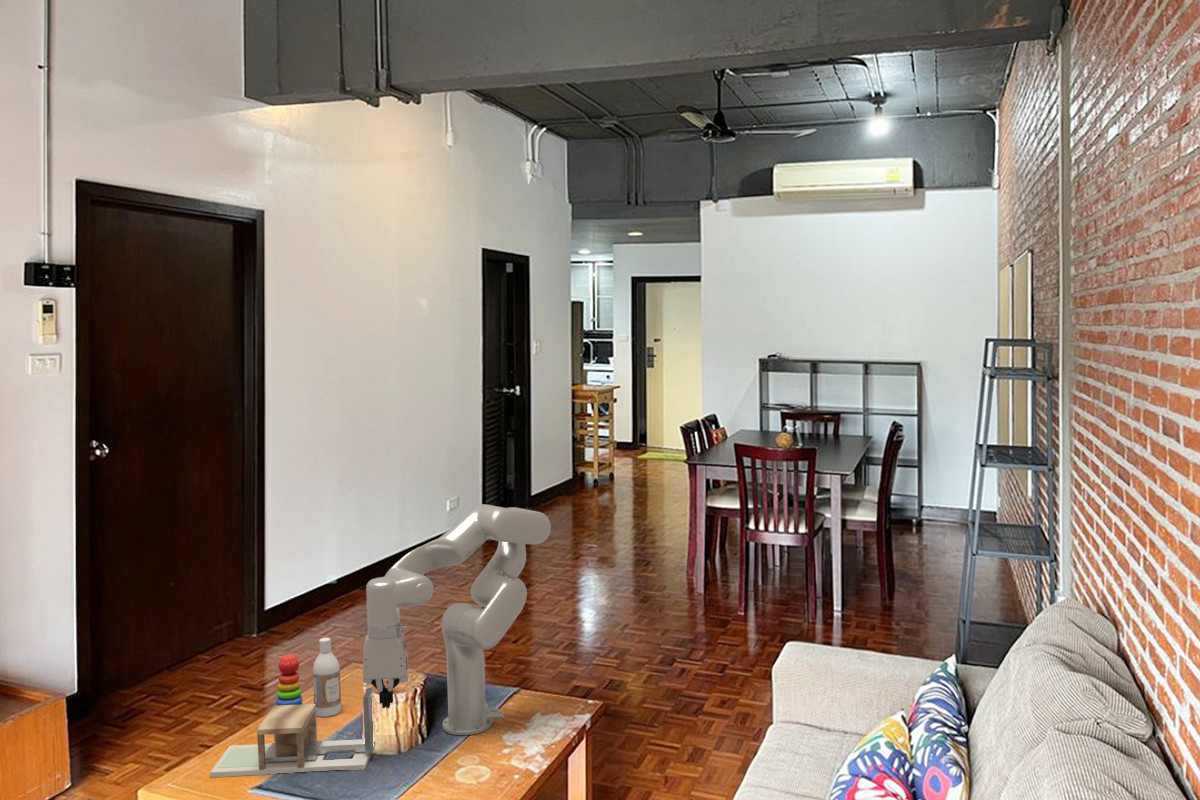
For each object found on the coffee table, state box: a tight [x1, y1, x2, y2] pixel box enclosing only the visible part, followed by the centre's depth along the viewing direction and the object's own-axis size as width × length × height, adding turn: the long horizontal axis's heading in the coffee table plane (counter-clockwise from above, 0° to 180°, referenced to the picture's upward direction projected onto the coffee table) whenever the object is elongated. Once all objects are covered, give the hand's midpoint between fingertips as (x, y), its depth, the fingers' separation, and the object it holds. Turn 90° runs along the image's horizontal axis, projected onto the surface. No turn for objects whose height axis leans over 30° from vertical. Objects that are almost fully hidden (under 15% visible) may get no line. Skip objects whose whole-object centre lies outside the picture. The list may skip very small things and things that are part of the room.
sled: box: [265, 687, 374, 762], centre depth 223 cm, size 25×8×14 cm, turn 94°
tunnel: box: [256, 703, 318, 770], centre depth 223 cm, size 10×14×10 cm
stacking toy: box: [275, 654, 304, 706], centre depth 242 cm, size 8×8×19 cm
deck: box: [209, 738, 371, 778], centre depth 223 cm, size 35×14×1 cm, turn 94°
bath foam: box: [312, 637, 342, 718], centre depth 250 cm, size 7×7×20 cm
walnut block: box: [276, 723, 309, 756], centre depth 223 cm, size 6×6×6 cm
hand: (386, 705), depth 224 cm, fingers closed
